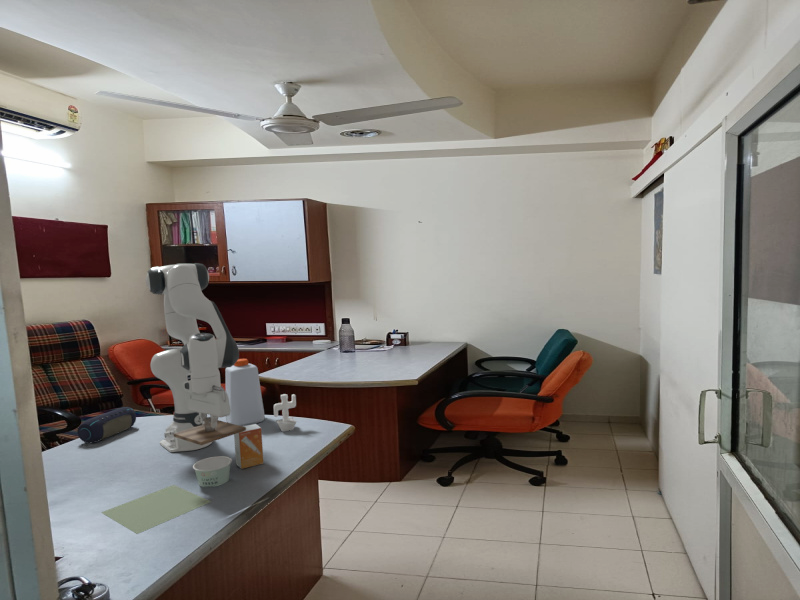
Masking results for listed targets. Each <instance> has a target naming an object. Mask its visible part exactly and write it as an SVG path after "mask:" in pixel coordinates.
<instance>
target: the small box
mask: <svg viewBox="0 0 800 600" xmlns="http://www.w3.org/2000/svg"><path fill="white" fill-rule="evenodd" d="M243 427H246V431H243V432H240V433H237V434H234V435H233V438H234V453H235V464H236V466H238V467H239V469H240V470H243V469H246V468H251V467H255V466H258V465H263V464H264V462H265V461H264V448H263V436H262V435H263V434H262V427H260V426H259V424H258V423H255V424H251V425H246V426H243Z"/></svg>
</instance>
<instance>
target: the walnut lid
mask: <svg viewBox="0 0 800 600" xmlns="http://www.w3.org/2000/svg"><path fill="white" fill-rule="evenodd" d="M210 422H211V418H210V416H207V418H204V425H205V426H203V425H200V426H197V427H194V428H190V429H187V430H184V431H180V432H177V433H174V437H177V438H180V439H183V440H186V441H189V442H192V443H195V444H198V445H204V444H207V443H210V442H212V443H213V442H216V441H219V440H221V439H224V438H227V437H230V436H234V434H237V433H240V432H243V431H246V427H243V426H239V425H235V424H231V423H228V422H227V421H222V420H219V419H218V420H217V427H216V428H210V425H209V423H210Z"/></svg>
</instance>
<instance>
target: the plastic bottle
mask: <svg viewBox="0 0 800 600" xmlns="http://www.w3.org/2000/svg"><path fill="white" fill-rule="evenodd" d="M258 369H259V368H258V367H257V365H255V364H252V363H249V359H247V358H239V359H238V360H237V362H236V363H235V364H234V365H233V366H232V367H226V368H225V370H224V371H225V391H226V393H227V395H228V398H229V403H230V410H231V412H230V414H229V415H228V416H225V422H227V423H231V424H235V425H239V426H247V425H253V424H259V423H261V422H263V421H264V420H265V409H264V403H263V397H262V388H261V384H260V377H259V370H258Z"/></svg>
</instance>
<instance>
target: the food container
mask: <svg viewBox="0 0 800 600" xmlns="http://www.w3.org/2000/svg"><path fill="white" fill-rule="evenodd" d="M232 463H233V459H232V458H231V457H230V456H227V455H226V456H224V455H222V456H220V455H219V456H211V457H210V456H209V457H207V458H203V459H200V460H198V461H196V462H195V463H194V464H192V469H193V470H194V472H195V476H196V479H197V482H198V485H199V486H200V487H201V488H215V487H218V486H221V485H224V484H226V483H228V482H229V480H230V474H231V473H230V471H231V464H232Z"/></svg>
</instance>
